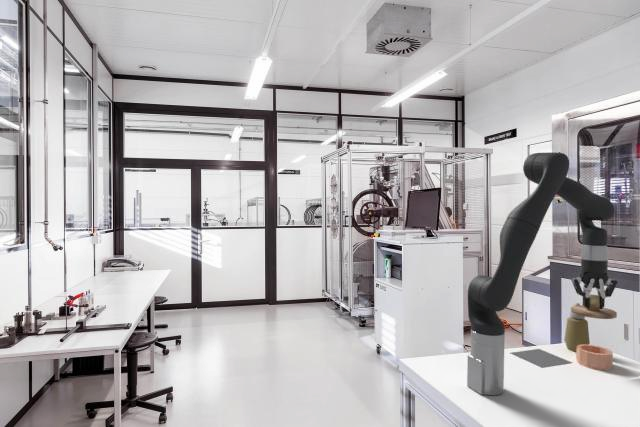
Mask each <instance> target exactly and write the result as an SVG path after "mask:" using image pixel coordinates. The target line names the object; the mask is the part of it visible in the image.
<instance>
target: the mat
mask: <svg viewBox="0 0 640 427" xmlns="http://www.w3.org/2000/svg"><path fill="white" fill-rule="evenodd" d="M509 354H511V355H513V356H515V357H518V358H519V359H521V360H524V361H526V362H529V363H530V364H532V365H534V366H537V367H539V368H542V369H543V368H549V367H550V368H551V367H555V366H562V365H563V366H564V365H568V364H573V361H570V360H567V359H565V358H562V357H560V356H558V355H555V354H553V353H550V352H548V351H545V350H543V349H541V348H535V349H529V350H522V351H520V350H519V351H513V352H509Z"/></svg>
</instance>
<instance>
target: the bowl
mask: <svg viewBox="0 0 640 427" xmlns="http://www.w3.org/2000/svg"><path fill="white" fill-rule="evenodd" d="M575 353H576V359H575V360H576V362H577V363H578V365H580V366H582V367H585V368H588V369H593V370H597V371H610V370H612V369H613V362H614V360H613V358H614V356H613V355H614V352H613V351H612V350H611V349H609V348H606V347H603V346H600V345H595V344H589V345H587V344H582V345H578V346H577V351H576V352H575Z"/></svg>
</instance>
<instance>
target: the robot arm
mask: <svg viewBox="0 0 640 427" xmlns="http://www.w3.org/2000/svg"><path fill="white" fill-rule="evenodd" d="M569 159H570V158H569V157H568V155H567V154H565V153H563V152H535V153H532V154H530V155H527V157H526V158H525V159H524V161H523V166H522V168H523V169H522V170H523V174H524V176H525V177H526V179H527V180H529V182H533V183H534V184H536V185H537V186H536V187H535V190H534V191H533V192H532V193H530V195H529V196H528V197H527V198H525V199H523V201H522V202H520V203H519V204H518V205H516V206H515V207H514V208H513V209H512V210H511V211H510V212H509V213H508V215H507V217H506V220H505V221H504V223H503V225H502V227H501V230H500V233H499V249H500V251H499V254H500V257H499V263H498V265H497V267H496V270H495V272H494V274H493V276H487V275H485V274H484V275H483V274H481V275H477V276H475V277H474V278H472V280H470V283H469V285H468V289H467V313H468V314H467V315H468V320H469V323H470V354H467V366H466V367H467V369H466V370H467V375H466V376H467V378H466V379H467V380H466V386H467V387H468V388H469V389H471V390H473V391H475V392H476V393H478V394H479V395H483V396H484V395H486V396H499V395H502V394H503V393H504V386H505V385H504V382H505V376H504V375H505V341H506V340H505V339H506V338H505V337H506V336H505V335H506V334H505V332H506V326H505V325H506V324H505V323H504V322H503V320H502V319H501V318H500V317H499V315H498V314H497V312H501V311H504V310H505V309H506V308H507V307H508V306H509V304H510V302H511V301H512V299H513V296H514V293H515V289H516V287H517V284H518V281H519V277H520V274H521V271H522V269H523V266H524V264H525V262H526V259H527V256H528V254H529V252H530V250H531V249H532V248H531V247H532V246H533V244H534V241H535V240H536V237H537V235H538V233H539V231H540V229H541V225H542V223H543V221H544V219H545V217H546V214H547V212H548V210H549V208H550V206H551V204H552V202H553V201H554V198H555V197H556V196H559V197H560V198H561V199H563V200H564V201H565V202H567V203H568V204H569V205H570V206H571V207H573V208H574V209H575V210H576V215H577V219H578V221H579V225H580V230H581V233H582V234H581V237H582V238H581V239H582V240H581V251H580V253H581V254H580V274H579V276H578V277H572V278H571V279H570V280H571V283H572V286H573V288H574V290H575V293H576V294H577V295H579V296H581V297H582V305H583V306H584V307H585V308H587V309H589V305H590V298H588V297H589V295H590V294H591V292H592V289H595V290H596V291H597V292H596V293H597V295H598V296H600V309H603V308H605V305H606V304H605V303H606V302H605V299H606V298H611V297H612V295H613V294H614V290H615V289H616V287H617V285H618V281H617V280H616V279H612V278H609V275H608V272H609V270H608V268H609V267H608V265H609V264H608V263H609V259H608V258H609V253H608V252H609V251H608V231H607V228H604V227H599V226H596V225H595V223H594V221H601V222H605V221H609V220H610V219H612V218H613V217H614V215H615V213H616V212H615V211H616V210H615V206H614V204H613V203H612V202H611V200H609V199H608V198H606V197H604V196H601V195H599V194H596V193H594V192H592V191H591V190H590V189H589V188H588V187H586V186H585V185H584V184H582V183H581V182H578V181H576V180H574V179H572V178H570V177H567V176H568V173H569V170H570V160H569ZM581 282H582V283H583V286H582V287H581ZM605 284H607V285H606V288H605Z"/></svg>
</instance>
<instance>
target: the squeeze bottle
mask: <svg viewBox="0 0 640 427" xmlns="http://www.w3.org/2000/svg"><path fill="white" fill-rule="evenodd" d="M576 305H581V304H580V303H577V302H576V303H575V305H574V306H576ZM569 314H570V315H569V316H570V317H567V320H566V327H565V332H564V333H565V334H564V340H563V341H564V342H565V346H566V348H567V350H568V351H570V352H573V353H576V351H577V346H578V345H582V344H587V345H591V344H590V331H589V321H588V320H586V317H584V316H580V315H577V314H574V313H572V312H571V311H570V312H569Z"/></svg>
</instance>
